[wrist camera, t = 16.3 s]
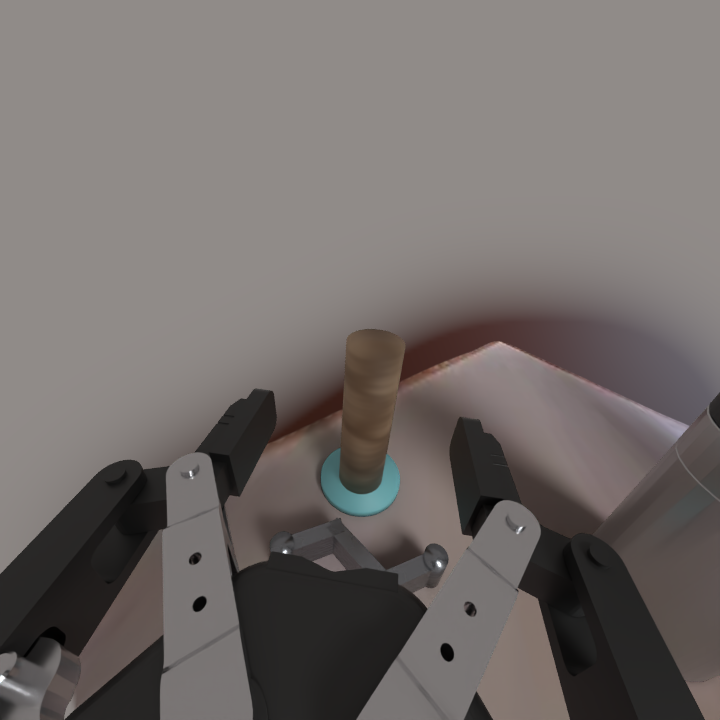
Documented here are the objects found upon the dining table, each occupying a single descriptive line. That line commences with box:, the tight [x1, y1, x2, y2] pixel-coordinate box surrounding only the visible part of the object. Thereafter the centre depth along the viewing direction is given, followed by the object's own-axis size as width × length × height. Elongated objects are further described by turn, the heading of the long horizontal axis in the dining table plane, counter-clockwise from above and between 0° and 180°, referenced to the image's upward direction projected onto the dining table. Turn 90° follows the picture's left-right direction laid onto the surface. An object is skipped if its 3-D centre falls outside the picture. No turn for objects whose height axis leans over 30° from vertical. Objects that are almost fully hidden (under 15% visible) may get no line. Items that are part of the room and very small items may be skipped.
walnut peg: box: [339, 329, 405, 494], centre depth 27 cm, size 5×5×16 cm
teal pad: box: [321, 448, 400, 517], centre depth 32 cm, size 8×8×1 cm
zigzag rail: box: [270, 518, 448, 593], centre depth 24 cm, size 14×5×3 cm, turn 88°
